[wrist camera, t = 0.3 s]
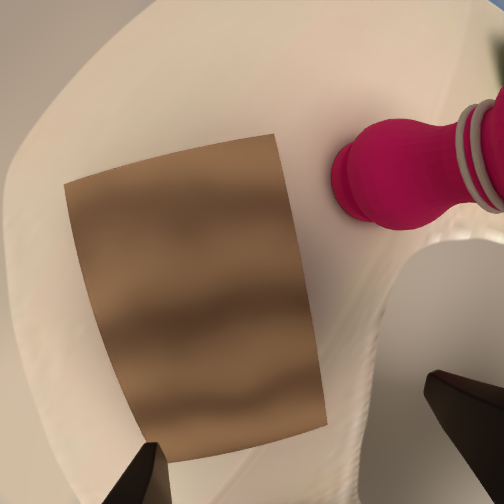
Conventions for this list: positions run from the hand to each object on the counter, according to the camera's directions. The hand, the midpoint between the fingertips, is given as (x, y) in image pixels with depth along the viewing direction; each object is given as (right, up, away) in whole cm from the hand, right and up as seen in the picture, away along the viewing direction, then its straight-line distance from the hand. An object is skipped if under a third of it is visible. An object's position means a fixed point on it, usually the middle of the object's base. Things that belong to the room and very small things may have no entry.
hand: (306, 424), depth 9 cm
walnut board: (-5, +1, +14) cm, 15 cm away
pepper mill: (+7, +11, +14) cm, 19 cm away
